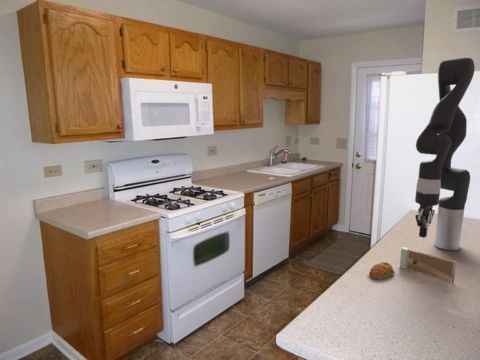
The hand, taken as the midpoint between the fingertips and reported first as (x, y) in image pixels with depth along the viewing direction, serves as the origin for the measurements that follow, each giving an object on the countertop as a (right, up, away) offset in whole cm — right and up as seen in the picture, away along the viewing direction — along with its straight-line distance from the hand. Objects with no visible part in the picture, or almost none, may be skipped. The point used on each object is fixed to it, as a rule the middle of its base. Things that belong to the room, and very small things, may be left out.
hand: (422, 236), depth 129 cm
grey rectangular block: (-2, -12, -5) cm, 14 cm away
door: (-1, -12, -6) cm, 14 cm away
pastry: (-17, -13, -5) cm, 22 cm away
